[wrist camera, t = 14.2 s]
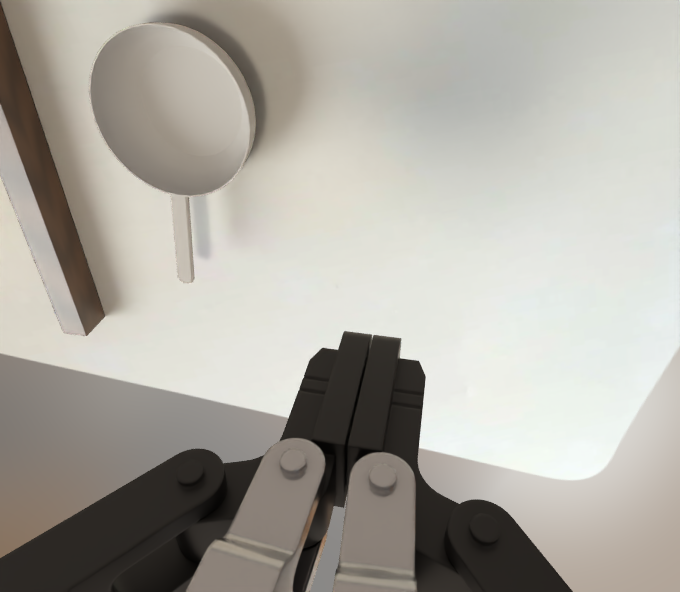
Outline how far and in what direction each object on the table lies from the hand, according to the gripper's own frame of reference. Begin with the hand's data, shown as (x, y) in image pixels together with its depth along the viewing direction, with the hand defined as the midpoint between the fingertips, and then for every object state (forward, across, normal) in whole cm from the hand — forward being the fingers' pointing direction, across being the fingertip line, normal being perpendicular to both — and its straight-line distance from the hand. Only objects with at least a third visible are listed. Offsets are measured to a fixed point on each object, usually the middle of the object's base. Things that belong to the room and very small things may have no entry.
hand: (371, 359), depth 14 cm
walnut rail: (+24, +30, +6) cm, 39 cm away
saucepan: (+24, +16, +5) cm, 29 cm away
